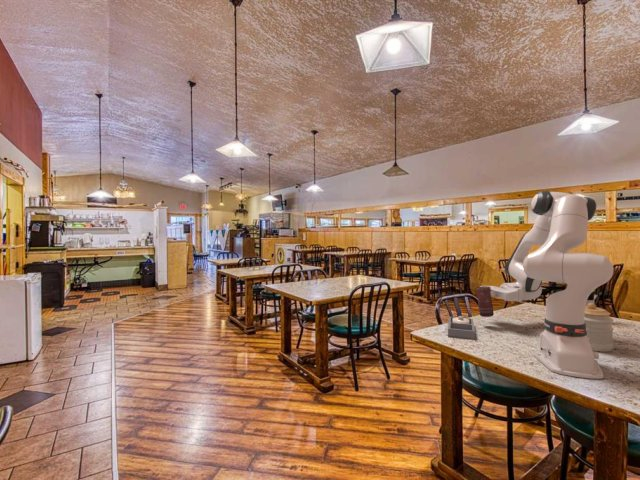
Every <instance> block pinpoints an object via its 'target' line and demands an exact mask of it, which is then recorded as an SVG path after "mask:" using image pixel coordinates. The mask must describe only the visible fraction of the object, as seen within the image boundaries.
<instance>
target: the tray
mask: <svg viewBox="0 0 640 480" xmlns="http://www.w3.org/2000/svg"><path fill="white" fill-rule="evenodd" d="M453 318H458V317H457V316H448V324H447V325H448V326H447V337H448V338H458V339H465V340H466V339H467V340H476V329H475V323H474V319H473V318H471V317H470V318H468V317H465V318H466V319H469V320H470V324H465V323H453V322H452V319H453Z"/></svg>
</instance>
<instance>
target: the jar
mask: <svg viewBox="0 0 640 480" xmlns="http://www.w3.org/2000/svg"><path fill="white" fill-rule="evenodd" d="M610 315H611V312H609V311H607V310H606V309H604V308H603V307H602V308H601V307H597V306H596V304H595V302H594V303H588V305H587V306H585V315H584V323H585V324H586V328H587V335H586V336H587V337H588V338H589V342H590V345H594V349H592V351H594V352H604V353H605V352H607V353H608V352H611V351H613V349H614V343H613V342H614V341H613V339H614V338H613V337H614V335H613V333H614V327H613V325H612V323H613V322H614V319H613V318H612V317H610Z"/></svg>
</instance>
